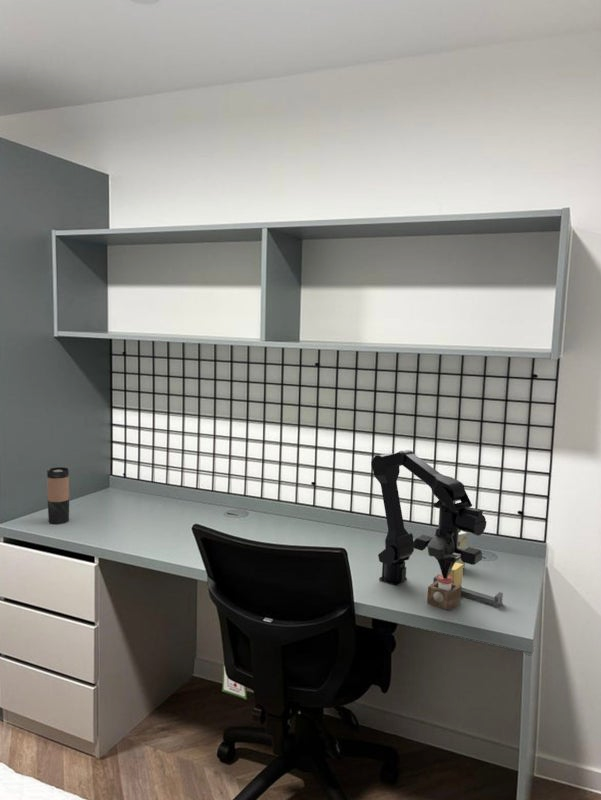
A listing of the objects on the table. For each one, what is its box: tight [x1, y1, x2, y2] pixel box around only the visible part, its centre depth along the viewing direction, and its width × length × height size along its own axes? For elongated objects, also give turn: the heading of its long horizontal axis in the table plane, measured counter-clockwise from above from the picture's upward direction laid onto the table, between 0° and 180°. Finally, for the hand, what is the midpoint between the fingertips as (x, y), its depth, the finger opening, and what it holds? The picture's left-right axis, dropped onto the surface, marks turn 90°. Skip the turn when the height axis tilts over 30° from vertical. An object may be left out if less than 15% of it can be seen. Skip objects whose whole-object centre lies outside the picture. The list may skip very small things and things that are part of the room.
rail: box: [432, 573, 504, 608], centre depth 189 cm, size 20×4×3 cm, turn 52°
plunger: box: [437, 574, 453, 591], centre depth 183 cm, size 4×4×7 cm
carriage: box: [449, 562, 464, 586], centre depth 192 cm, size 4×6×8 cm, turn 142°
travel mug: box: [46, 466, 70, 525], centre depth 241 cm, size 8×8×20 cm
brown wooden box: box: [426, 580, 462, 612], centre depth 184 cm, size 7×7×5 cm
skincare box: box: [456, 530, 468, 569], centre depth 209 cm, size 6×4×12 cm
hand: (445, 577), depth 183 cm, fingers closed, pressing on plunger
